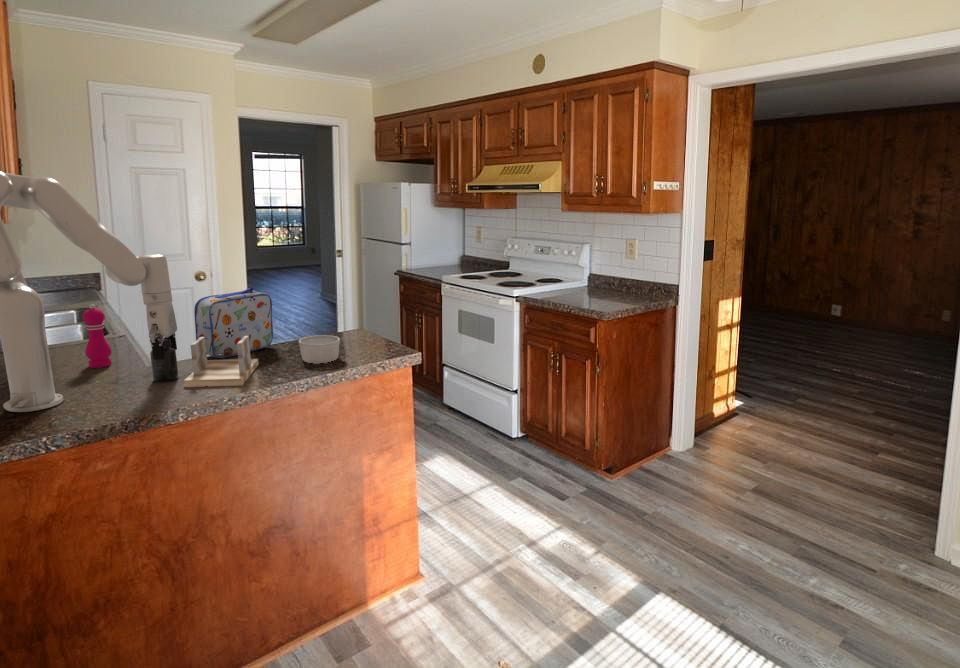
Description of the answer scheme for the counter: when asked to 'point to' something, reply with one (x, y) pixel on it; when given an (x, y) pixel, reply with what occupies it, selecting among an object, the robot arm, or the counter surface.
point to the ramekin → (319, 348)
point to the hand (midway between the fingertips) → (165, 354)
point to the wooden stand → (220, 366)
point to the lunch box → (234, 321)
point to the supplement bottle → (165, 364)
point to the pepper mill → (96, 339)
